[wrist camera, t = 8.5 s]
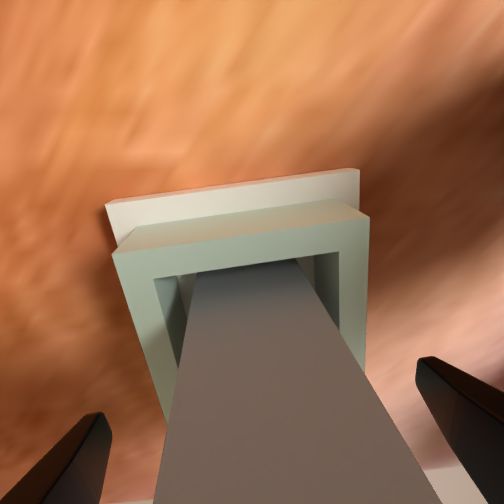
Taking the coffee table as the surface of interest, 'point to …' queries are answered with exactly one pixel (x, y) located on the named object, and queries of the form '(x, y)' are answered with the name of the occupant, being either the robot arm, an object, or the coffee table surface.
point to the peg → (277, 403)
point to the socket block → (239, 253)
